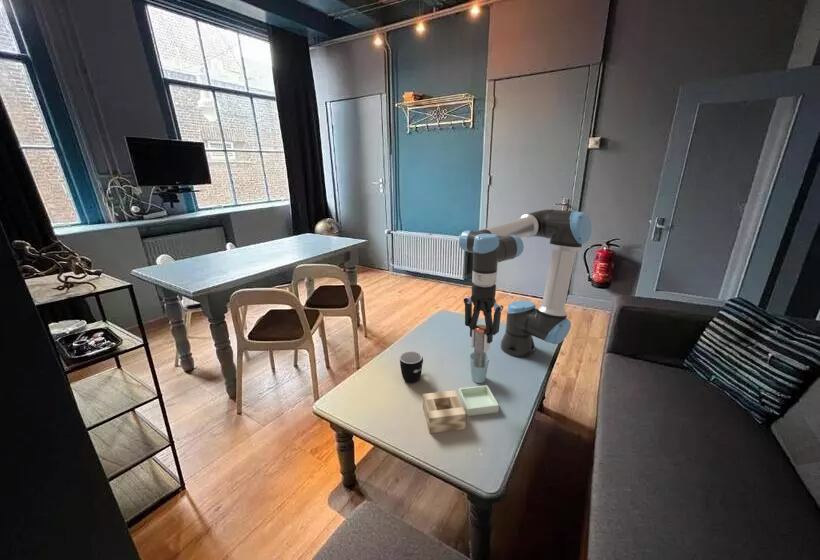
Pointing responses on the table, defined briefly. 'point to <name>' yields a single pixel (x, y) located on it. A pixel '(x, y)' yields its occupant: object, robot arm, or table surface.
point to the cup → (478, 370)
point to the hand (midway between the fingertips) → (480, 347)
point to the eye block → (443, 411)
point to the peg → (479, 346)
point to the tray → (478, 400)
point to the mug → (411, 366)
